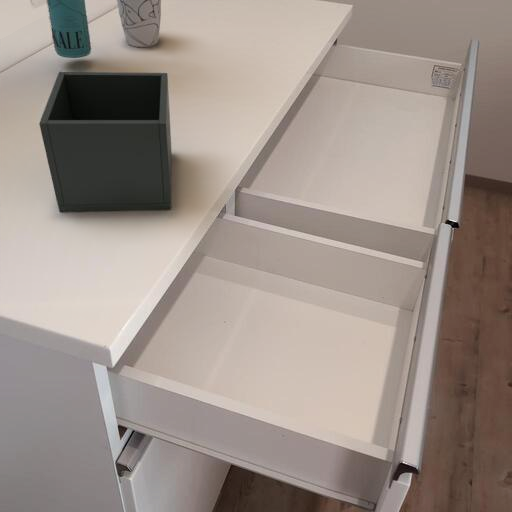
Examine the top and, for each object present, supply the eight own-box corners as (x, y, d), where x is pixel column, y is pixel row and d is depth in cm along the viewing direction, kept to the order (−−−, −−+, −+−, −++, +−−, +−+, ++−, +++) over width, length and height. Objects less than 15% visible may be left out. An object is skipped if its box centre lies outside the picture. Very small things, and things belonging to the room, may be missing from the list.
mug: (107, 33, 112) (100, -19, 105) (144, 27, 116) (140, -24, 109) (133, 52, 105) (128, -3, 98) (171, 45, 109) (168, -9, 103)
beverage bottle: (83, 51, 102) (66, -72, 89) (100, 63, 98) (85, -63, 85) (49, 57, 99) (27, -69, 86) (65, 70, 95) (45, -60, 82)
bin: (59, 212, 67) (39, 123, 59) (74, 154, 77) (58, 71, 69) (171, 209, 68) (166, 123, 61) (171, 153, 79) (167, 72, 71)
